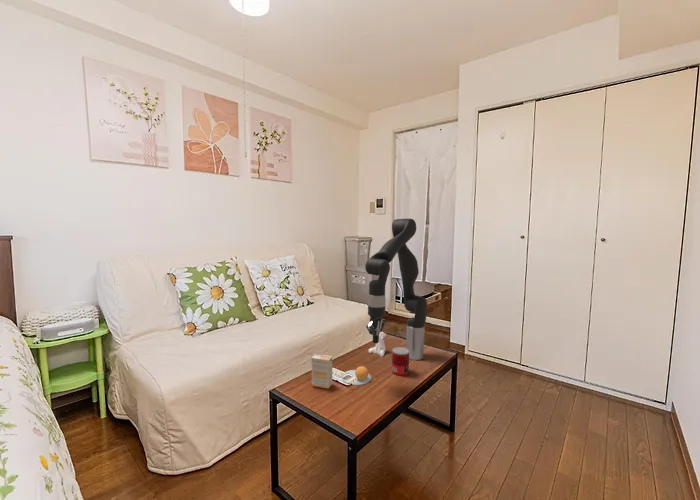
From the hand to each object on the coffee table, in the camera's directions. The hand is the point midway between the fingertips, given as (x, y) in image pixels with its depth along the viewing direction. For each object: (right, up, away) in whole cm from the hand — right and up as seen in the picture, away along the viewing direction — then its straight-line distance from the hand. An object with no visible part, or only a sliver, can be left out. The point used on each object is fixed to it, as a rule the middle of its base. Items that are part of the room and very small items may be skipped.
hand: (375, 342), depth 143 cm
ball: (-6, -15, +5) cm, 17 cm away
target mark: (-8, -18, +8) cm, 21 cm away
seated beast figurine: (+5, -16, +36) cm, 40 cm away
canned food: (+13, -18, +13) cm, 26 cm away
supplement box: (-24, -19, 0) cm, 30 cm away
